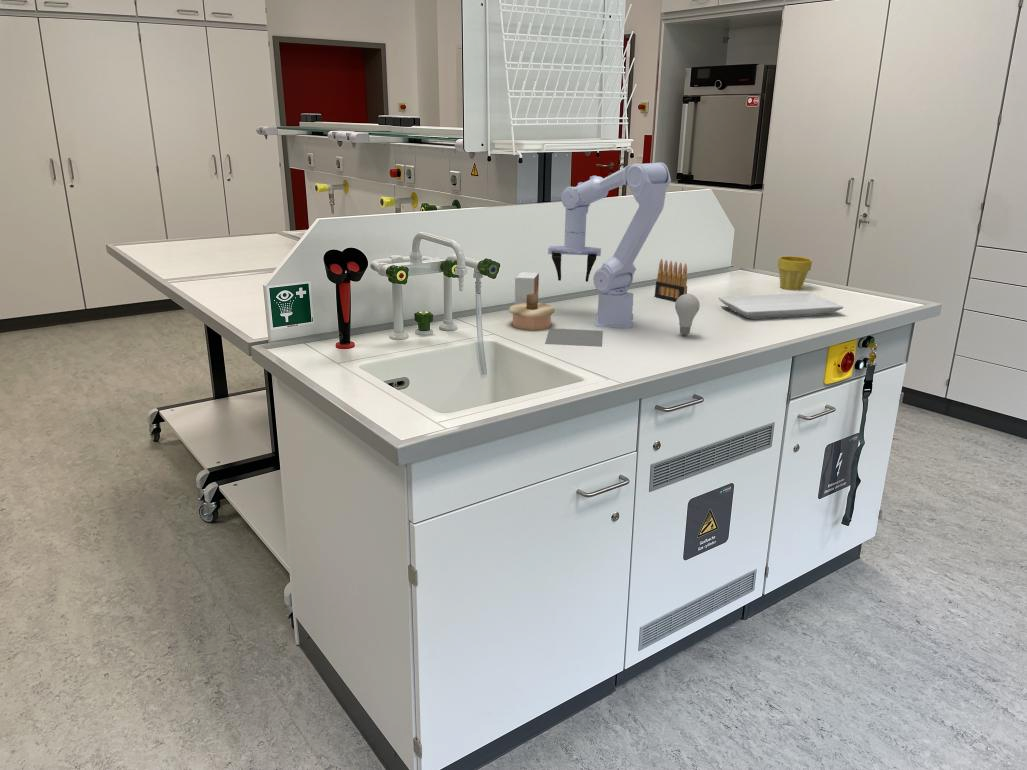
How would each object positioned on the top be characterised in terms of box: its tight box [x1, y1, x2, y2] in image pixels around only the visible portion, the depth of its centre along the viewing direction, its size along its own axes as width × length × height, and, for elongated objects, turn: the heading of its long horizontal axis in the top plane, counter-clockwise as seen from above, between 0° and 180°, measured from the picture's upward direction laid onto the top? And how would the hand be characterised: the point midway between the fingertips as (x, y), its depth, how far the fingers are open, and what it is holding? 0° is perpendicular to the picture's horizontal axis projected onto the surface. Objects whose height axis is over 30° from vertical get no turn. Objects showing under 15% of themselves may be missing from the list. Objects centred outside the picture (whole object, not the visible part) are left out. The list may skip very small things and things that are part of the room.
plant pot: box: [777, 255, 813, 291], centre depth 249 cm, size 10×10×10 cm
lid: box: [509, 294, 556, 317], centre depth 201 cm, size 12×12×4 cm
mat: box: [544, 327, 604, 348], centre depth 193 cm, size 14×14×1 cm
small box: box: [514, 271, 540, 304], centre depth 216 cm, size 8×6×10 cm
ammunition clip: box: [654, 258, 688, 303], centre depth 231 cm, size 11×2×12 cm, turn 43°
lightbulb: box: [674, 293, 701, 337], centre depth 194 cm, size 6×6×11 cm
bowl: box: [512, 314, 552, 331], centre depth 203 cm, size 10×10×4 cm
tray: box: [718, 292, 844, 319], centre depth 221 cm, size 17×31×4 cm, turn 103°
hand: (573, 280), depth 213 cm, fingers open, 7 cm apart
